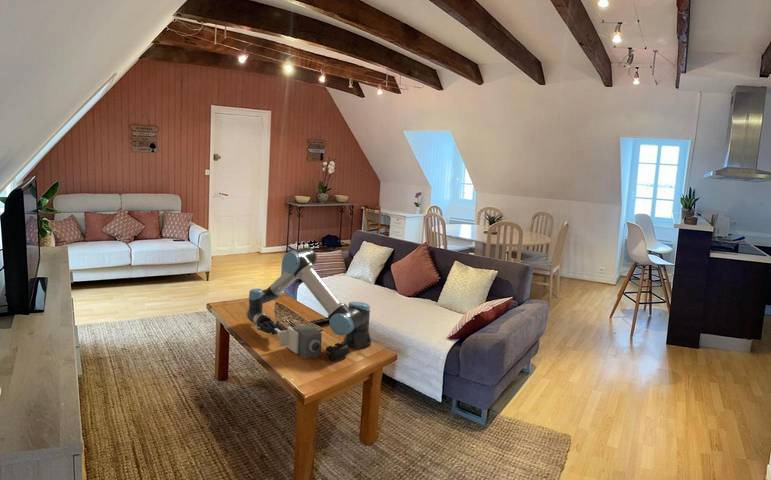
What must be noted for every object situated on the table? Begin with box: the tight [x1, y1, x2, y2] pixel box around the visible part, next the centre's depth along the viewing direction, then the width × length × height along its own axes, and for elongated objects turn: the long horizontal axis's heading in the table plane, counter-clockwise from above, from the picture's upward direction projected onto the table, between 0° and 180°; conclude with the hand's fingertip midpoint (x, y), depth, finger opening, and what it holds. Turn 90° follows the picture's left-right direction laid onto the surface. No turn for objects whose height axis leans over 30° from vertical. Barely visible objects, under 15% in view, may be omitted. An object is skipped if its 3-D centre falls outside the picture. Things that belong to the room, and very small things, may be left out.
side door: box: [278, 326, 299, 354], centre depth 252 cm, size 6×10×11 cm, turn 38°
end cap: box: [325, 342, 350, 362], centre depth 248 cm, size 10×7×7 cm
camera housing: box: [292, 324, 323, 360], centre depth 251 cm, size 9×16×12 cm, turn 38°
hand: (281, 334), depth 256 cm, fingers closed
